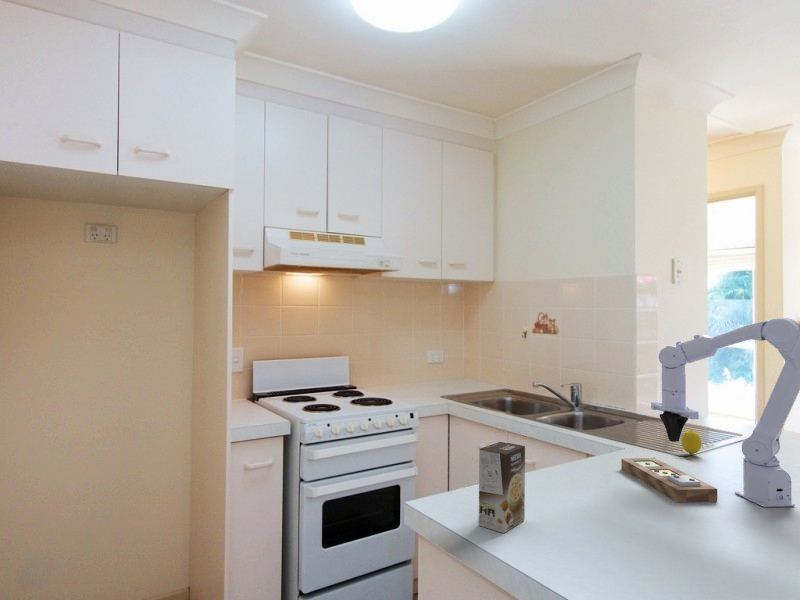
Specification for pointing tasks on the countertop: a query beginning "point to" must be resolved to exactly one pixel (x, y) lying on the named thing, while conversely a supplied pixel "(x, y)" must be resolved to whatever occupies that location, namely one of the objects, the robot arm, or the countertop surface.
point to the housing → (668, 481)
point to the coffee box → (501, 486)
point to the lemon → (691, 442)
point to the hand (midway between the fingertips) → (673, 441)
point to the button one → (647, 463)
